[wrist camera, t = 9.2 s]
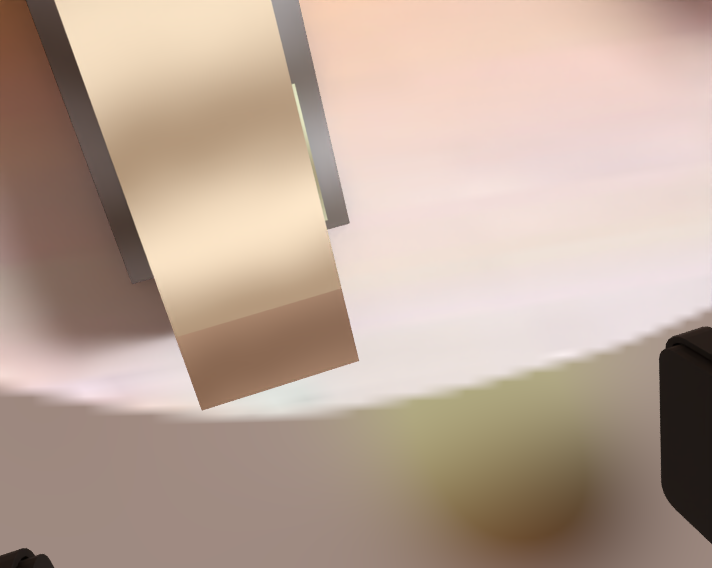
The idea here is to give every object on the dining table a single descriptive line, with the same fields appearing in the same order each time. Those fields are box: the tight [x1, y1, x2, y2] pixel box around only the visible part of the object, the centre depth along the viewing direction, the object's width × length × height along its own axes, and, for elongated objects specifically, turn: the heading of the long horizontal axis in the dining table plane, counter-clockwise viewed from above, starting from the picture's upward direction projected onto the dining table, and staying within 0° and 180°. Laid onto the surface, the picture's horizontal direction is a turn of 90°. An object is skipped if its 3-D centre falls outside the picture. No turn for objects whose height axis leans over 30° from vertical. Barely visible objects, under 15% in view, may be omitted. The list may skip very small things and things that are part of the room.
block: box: [54, 0, 359, 410], centre depth 22 cm, size 16×6×6 cm, turn 13°
